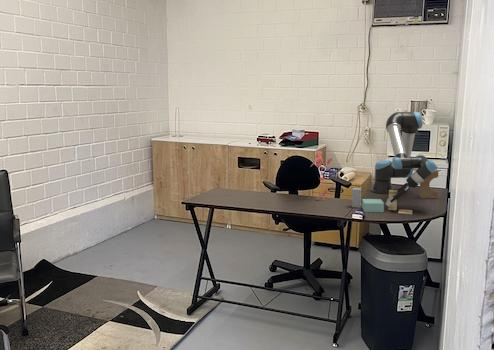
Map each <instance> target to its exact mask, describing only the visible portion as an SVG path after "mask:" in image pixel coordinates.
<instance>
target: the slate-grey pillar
mask: <svg viewBox="0 0 494 350" xmlns="http://www.w3.org/2000/svg"><path fill="white" fill-rule="evenodd" d="M351 191H352V192H351V193H352V194H351V197H352V199H351V207H352V208H359V209H360V208H361V207H362V188H361V187H360V188H359V187H353V188H352V190H351Z"/></svg>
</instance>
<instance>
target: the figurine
mask: <svg viewBox="0 0 494 350" xmlns="http://www.w3.org/2000/svg"><path fill="white" fill-rule="evenodd" d="M322 154H323V152H322V150H321V151H320V149H319V150H317V151H316V154H314V157H315V161H313V163H312V164H311V165H310V167H312V166H314V165H315V166H316V167H317V166H318V167H317V168H318V169H319V168H320V174H322V171H323V170H324V169H325V168H327V169H330V168H331V164H332V161H333V158H332V157H330V158H329V159H327V161H326V164H327V165H329V166H326V165H325V164H324V160H323V155H322ZM322 165H323V167H322ZM319 180H320V186H323V185H322V181H324V182H325V186H328V185H327V180H325V178H324V177H323V176H320V177H319ZM325 195H327V197H328V198H329V199H330V198H331V197H330V195H329V193H328V189H325V191H324V192H322V189H320V192H319V194H318V196H317V198H316V200H319V199H320V197H321V198H322V199H323V201H325V198H324V197H325ZM306 199H307V200H308V199H309V197H307V198H306Z"/></svg>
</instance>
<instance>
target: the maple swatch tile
mask: <svg viewBox="0 0 494 350" xmlns="http://www.w3.org/2000/svg"><path fill="white" fill-rule="evenodd" d="M397 213H398V214H399V215H400V214H401V215H402V214H403V215H413V210H412V209H399V208H398V212H397Z"/></svg>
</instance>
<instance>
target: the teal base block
mask: <svg viewBox="0 0 494 350" xmlns="http://www.w3.org/2000/svg"><path fill="white" fill-rule="evenodd" d="M361 209H362V210H363V212H364V213H384V211H385V203H384V201H383V200H382V199H381V198H361Z"/></svg>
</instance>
